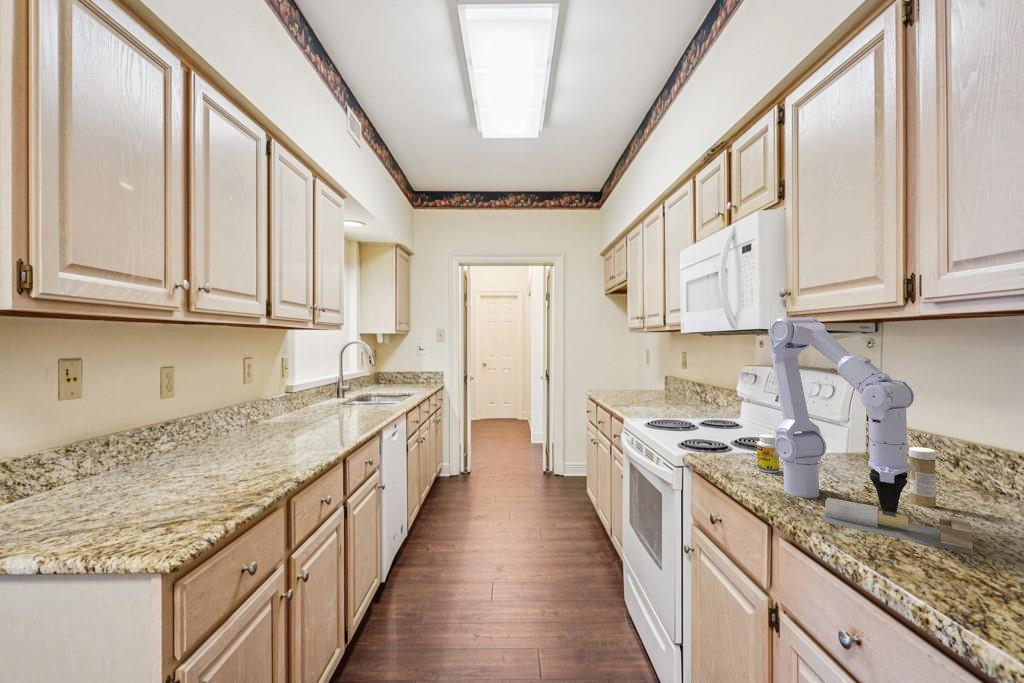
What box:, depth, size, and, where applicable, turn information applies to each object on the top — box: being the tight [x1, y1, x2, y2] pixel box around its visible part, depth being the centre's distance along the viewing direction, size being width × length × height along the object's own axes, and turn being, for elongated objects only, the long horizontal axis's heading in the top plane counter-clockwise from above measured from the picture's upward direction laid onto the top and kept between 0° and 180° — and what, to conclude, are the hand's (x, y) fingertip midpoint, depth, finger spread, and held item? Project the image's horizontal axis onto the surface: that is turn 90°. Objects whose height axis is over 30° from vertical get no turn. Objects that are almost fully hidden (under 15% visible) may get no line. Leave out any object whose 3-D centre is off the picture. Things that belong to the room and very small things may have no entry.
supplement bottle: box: [756, 434, 780, 474], centre depth 128 cm, size 6×6×10 cm
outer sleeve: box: [824, 497, 879, 528], centre depth 91 cm, size 3×8×3 cm, turn 48°
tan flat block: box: [877, 510, 909, 530], centre depth 89 cm, size 2×12×7 cm, turn 47°
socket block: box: [938, 516, 974, 549], centre depth 81 cm, size 5×4×4 cm
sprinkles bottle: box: [908, 446, 937, 508], centre depth 98 cm, size 5×5×14 cm
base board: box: [820, 509, 975, 555], centre depth 87 cm, size 10×22×1 cm, turn 48°
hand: (889, 509), depth 87 cm, fingers closed on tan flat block, 2 cm apart
